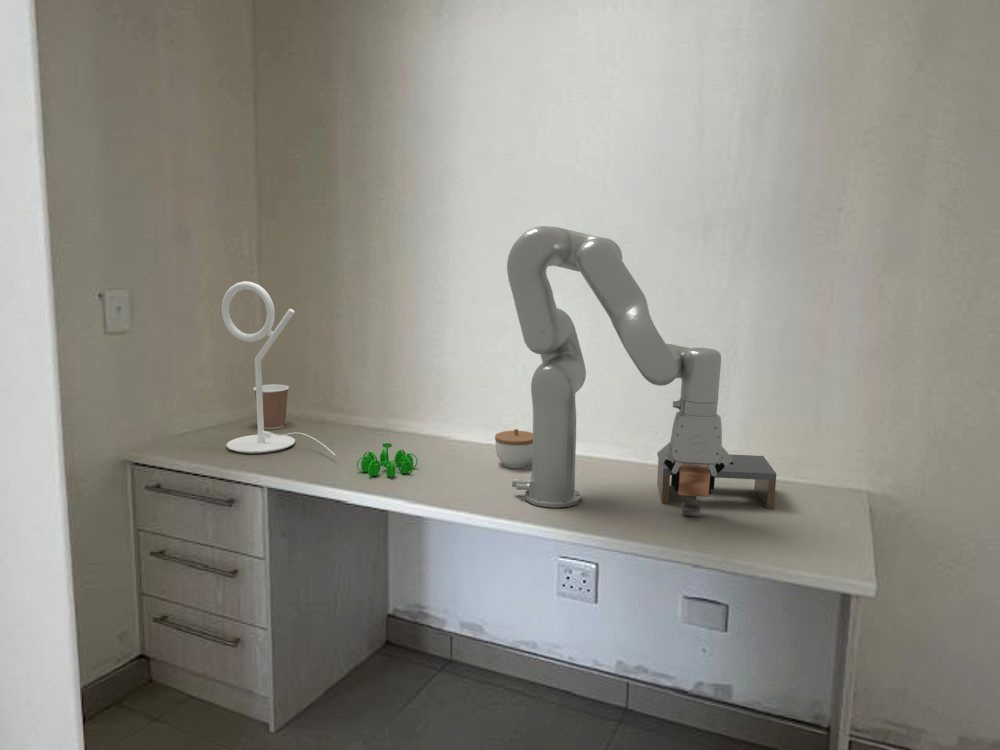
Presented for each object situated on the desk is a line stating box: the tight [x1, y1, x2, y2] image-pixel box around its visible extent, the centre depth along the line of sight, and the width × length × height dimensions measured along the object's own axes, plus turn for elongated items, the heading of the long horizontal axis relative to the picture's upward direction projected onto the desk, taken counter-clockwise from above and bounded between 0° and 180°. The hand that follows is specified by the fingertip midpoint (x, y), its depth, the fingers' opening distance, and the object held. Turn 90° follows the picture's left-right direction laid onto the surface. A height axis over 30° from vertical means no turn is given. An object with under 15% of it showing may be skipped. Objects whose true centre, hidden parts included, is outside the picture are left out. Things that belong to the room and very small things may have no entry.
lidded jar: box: [494, 428, 533, 469], centre depth 201 cm, size 11×11×9 cm
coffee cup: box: [252, 384, 290, 430], centre depth 237 cm, size 10×10×12 cm
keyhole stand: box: [656, 452, 777, 510], centre depth 179 cm, size 24×14×8 cm, turn 83°
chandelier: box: [356, 442, 418, 479], centre depth 195 cm, size 15×15×7 cm
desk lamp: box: [221, 280, 337, 458], centre depth 210 cm, size 37×18×45 cm, turn 73°
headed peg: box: [677, 464, 710, 517], centre depth 166 cm, size 6×6×10 cm
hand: (692, 490), depth 166 cm, fingers closed on headed peg, 6 cm apart
